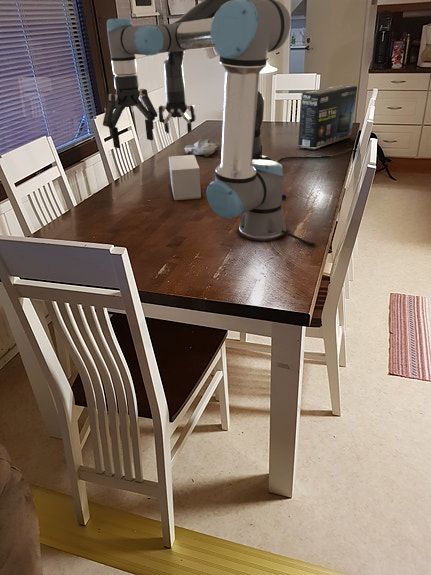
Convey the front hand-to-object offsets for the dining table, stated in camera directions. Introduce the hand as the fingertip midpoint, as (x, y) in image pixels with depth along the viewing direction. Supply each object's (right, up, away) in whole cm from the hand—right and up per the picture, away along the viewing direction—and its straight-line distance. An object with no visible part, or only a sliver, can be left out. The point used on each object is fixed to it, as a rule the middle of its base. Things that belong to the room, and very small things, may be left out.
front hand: (134, 143), depth 155 cm
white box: (+15, -9, +32) cm, 36 cm away
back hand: (+13, +13, +28) cm, 34 cm away
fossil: (+21, +21, +81) cm, 86 cm away
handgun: (+49, -10, +28) cm, 58 cm away
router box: (+86, +28, +89) cm, 127 cm away
